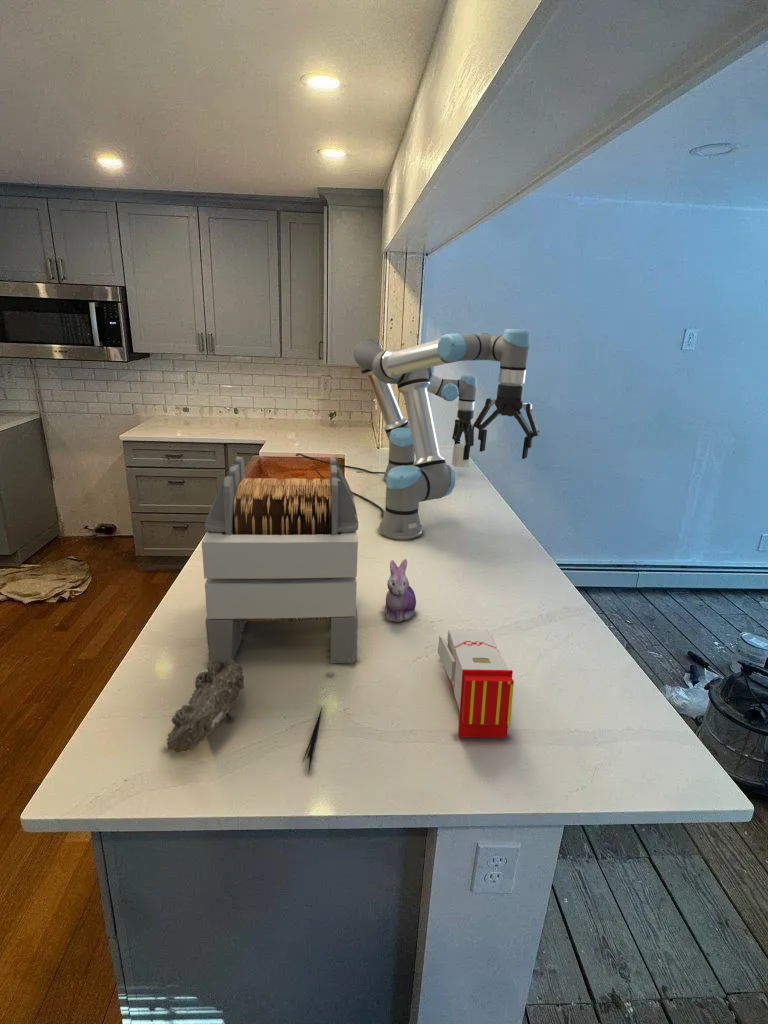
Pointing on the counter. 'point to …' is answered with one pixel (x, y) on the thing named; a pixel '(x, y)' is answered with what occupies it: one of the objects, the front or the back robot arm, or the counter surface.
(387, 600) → the figurine
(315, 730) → the feather
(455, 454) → the cylinder
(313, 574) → the record crate stand
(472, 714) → the toy
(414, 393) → the front robot arm
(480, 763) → the counter surface
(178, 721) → the fossil
